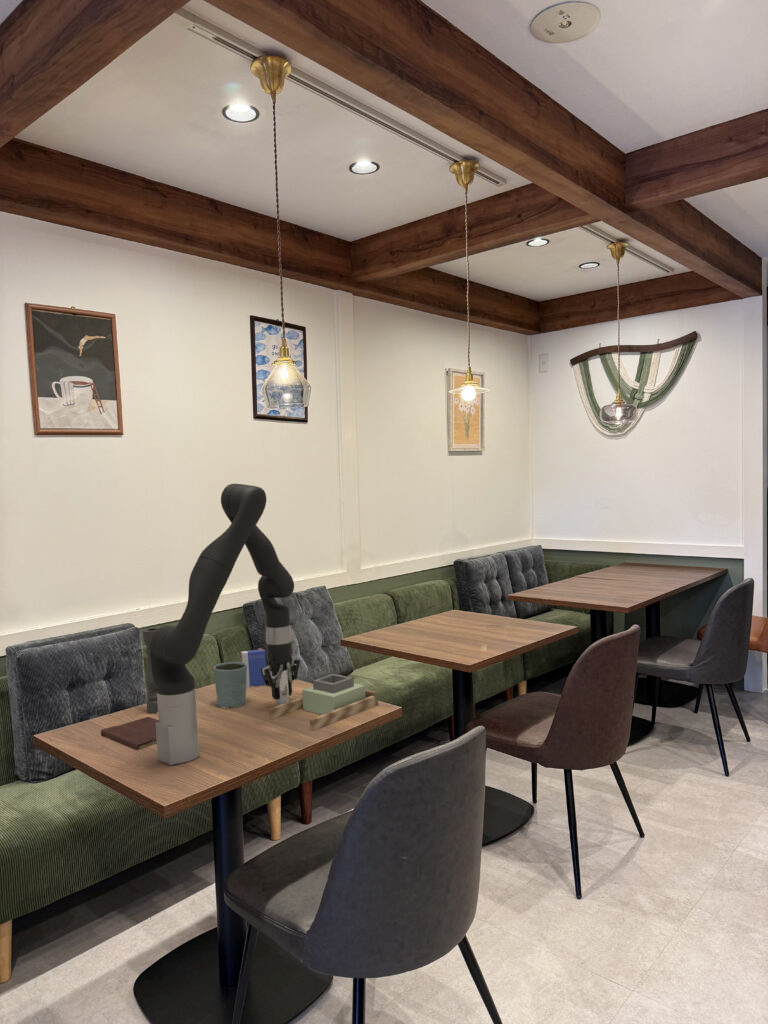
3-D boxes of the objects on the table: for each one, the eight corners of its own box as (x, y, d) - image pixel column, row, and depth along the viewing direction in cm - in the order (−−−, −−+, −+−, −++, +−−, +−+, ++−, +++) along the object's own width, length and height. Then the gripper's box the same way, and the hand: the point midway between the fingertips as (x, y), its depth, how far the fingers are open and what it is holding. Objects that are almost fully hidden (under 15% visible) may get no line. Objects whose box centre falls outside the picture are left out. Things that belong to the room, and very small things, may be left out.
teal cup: (214, 701, 230) (212, 663, 230) (247, 697, 233) (244, 660, 233) (217, 710, 220) (214, 671, 220) (251, 706, 223) (248, 667, 223)
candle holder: (154, 714, 220) (149, 632, 218) (142, 711, 223) (137, 630, 222) (172, 708, 224) (166, 628, 223) (159, 705, 228) (154, 626, 227)
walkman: (266, 682, 248) (264, 648, 248) (267, 685, 246) (265, 649, 245) (243, 685, 246) (240, 650, 246) (243, 687, 244) (241, 652, 243)
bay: (313, 735, 195) (312, 716, 195) (270, 722, 207) (269, 705, 207) (378, 708, 215) (377, 692, 214) (335, 698, 227) (334, 682, 226)
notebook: (149, 721, 215) (149, 714, 215) (187, 735, 202) (186, 728, 202) (100, 736, 204) (100, 729, 204) (137, 752, 191) (136, 744, 191)
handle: (282, 712, 216) (280, 672, 215) (273, 710, 218) (271, 670, 218) (292, 708, 219) (290, 669, 218) (283, 706, 221) (281, 667, 221)
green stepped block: (334, 717, 205) (333, 688, 204) (303, 709, 213) (301, 681, 213) (366, 705, 214) (364, 677, 214) (334, 698, 223) (333, 670, 223)
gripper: (268, 647, 210) (272, 705, 211) (305, 637, 220) (308, 693, 221) (252, 644, 215) (255, 701, 216) (288, 634, 225) (291, 689, 226)
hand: (282, 696), depth 218 cm, fingers closed on handle, 4 cm apart
